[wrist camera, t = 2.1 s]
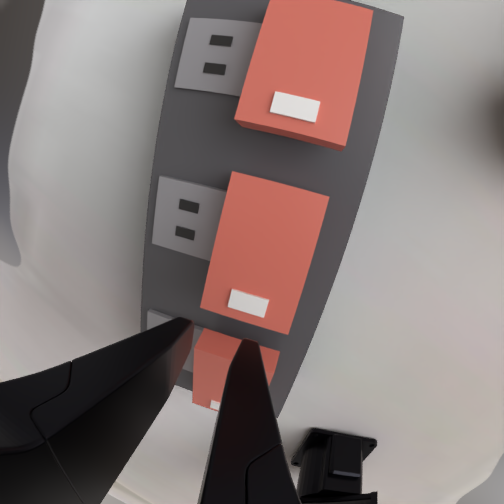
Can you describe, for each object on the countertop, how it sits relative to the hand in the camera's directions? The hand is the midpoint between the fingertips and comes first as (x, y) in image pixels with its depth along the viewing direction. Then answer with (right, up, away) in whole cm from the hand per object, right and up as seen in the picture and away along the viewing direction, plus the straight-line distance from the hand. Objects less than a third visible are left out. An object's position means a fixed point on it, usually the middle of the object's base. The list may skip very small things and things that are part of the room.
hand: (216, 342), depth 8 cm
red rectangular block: (0, -5, +9) cm, 10 cm away
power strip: (+2, +9, +9) cm, 13 cm away
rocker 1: (+3, +9, +3) cm, 10 cm away
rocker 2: (+1, +2, +6) cm, 6 cm away
